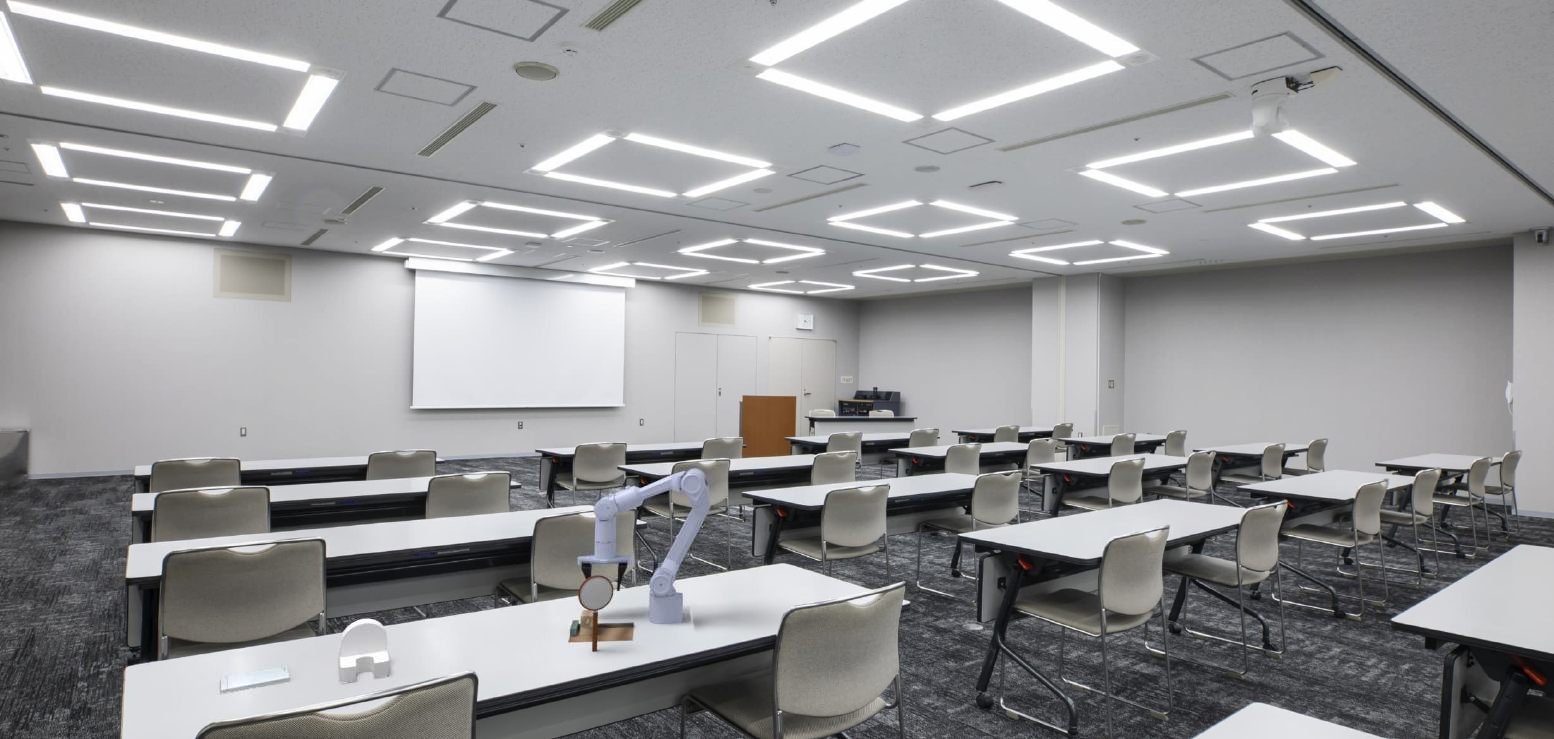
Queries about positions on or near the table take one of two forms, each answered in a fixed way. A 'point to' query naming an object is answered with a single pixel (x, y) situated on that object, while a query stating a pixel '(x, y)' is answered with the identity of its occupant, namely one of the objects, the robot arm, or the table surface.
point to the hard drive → (254, 679)
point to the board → (604, 632)
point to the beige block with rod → (586, 623)
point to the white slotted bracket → (363, 650)
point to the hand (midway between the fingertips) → (604, 590)
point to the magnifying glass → (595, 599)
